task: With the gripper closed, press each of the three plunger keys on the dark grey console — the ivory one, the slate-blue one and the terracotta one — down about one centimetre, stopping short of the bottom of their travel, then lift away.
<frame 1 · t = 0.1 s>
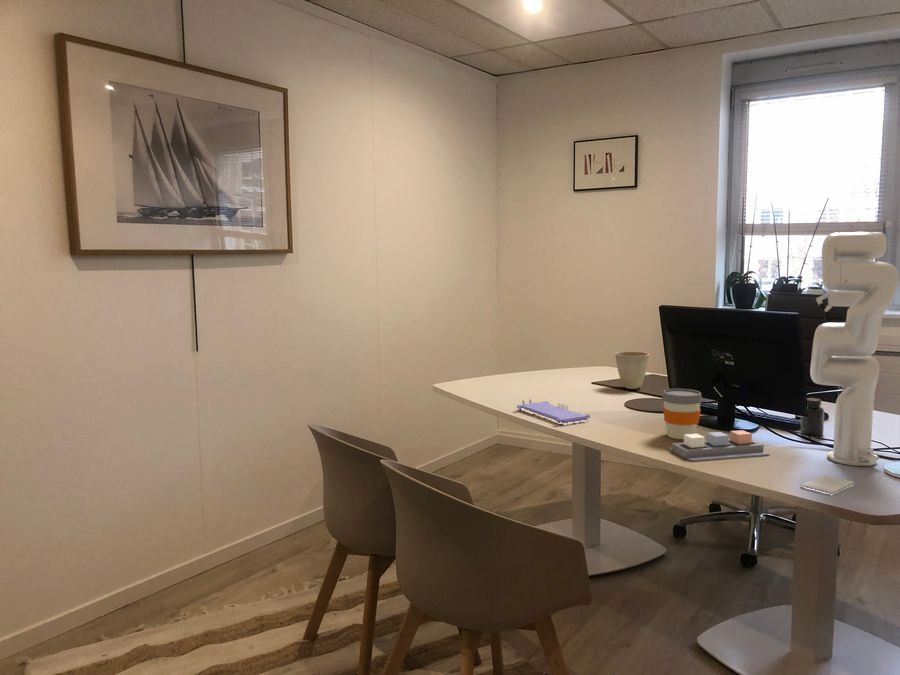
hand: (844, 323, 229), 37 cm above the table, tool pointing down, fingers open, 9 cm apart
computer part: (551, 417, 266), on the table
reusable coffee cup: (680, 436, 234), on the table
ivory key: (694, 440, 213), point 4 cm above the table, slide at 0.0 cm
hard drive: (826, 489, 183), on the table
console: (717, 452, 215), on the table
plant pot: (631, 388, 315), on the table
supplement bottle: (811, 434, 233), on the table
slate key: (717, 438, 214), point 4 cm above the table, slide at 0.0 cm
terracotta key: (740, 437, 216), point 4 cm above the table, slide at 0.0 cm
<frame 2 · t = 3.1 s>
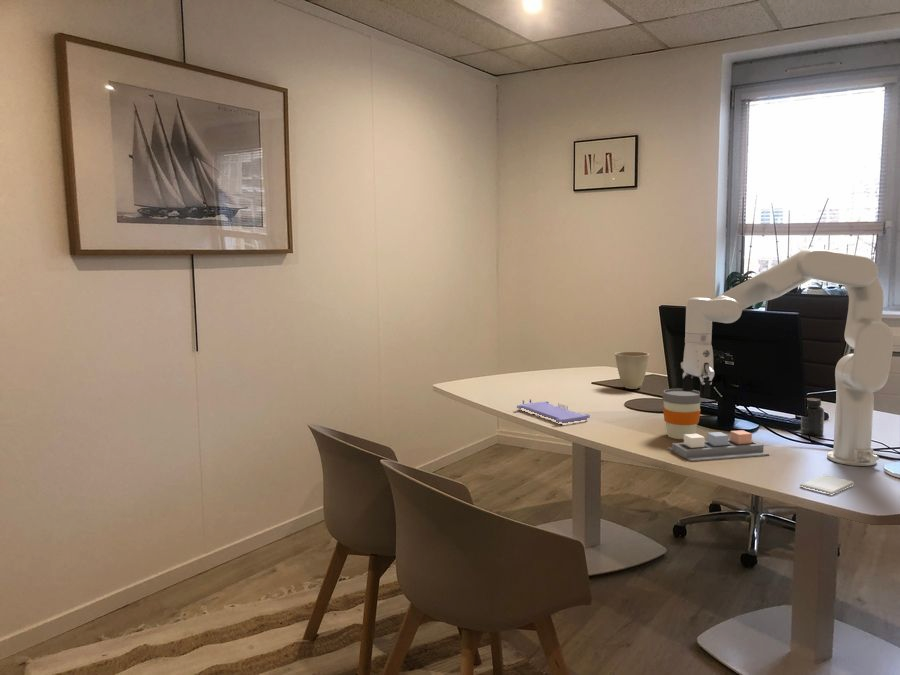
hand: (696, 394, 211), 19 cm above the table, tool pointing down, fingers open, 9 cm apart
nothing on the table moved.
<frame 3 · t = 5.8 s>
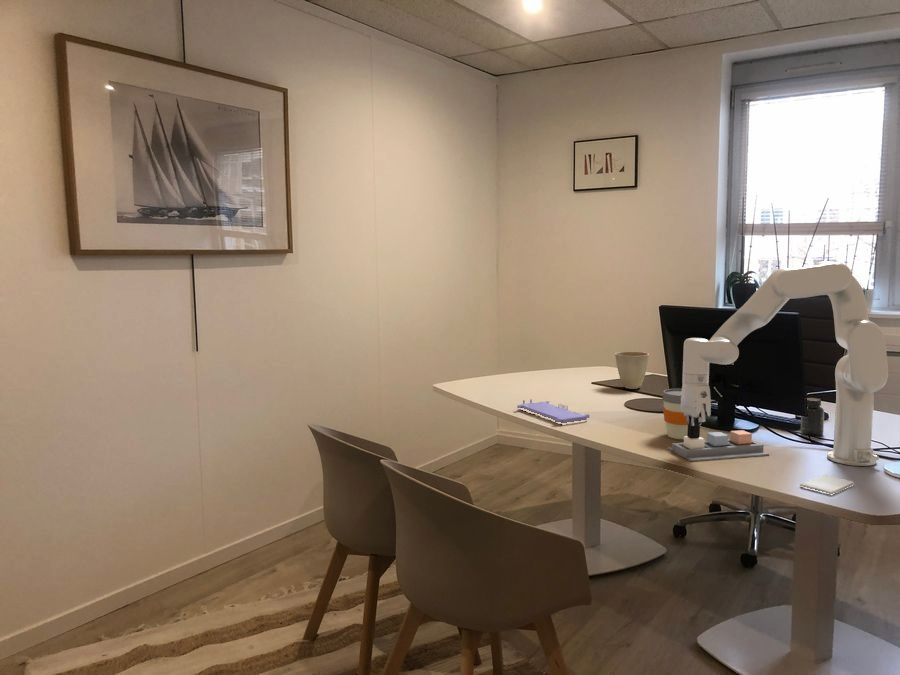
hand: (693, 437, 213), 5 cm above the table, tool pointing down, fingers closed
ivory key: (694, 442, 213), point 4 cm above the table, slide at 0.6 cm, touching gripper
everything else where it was.
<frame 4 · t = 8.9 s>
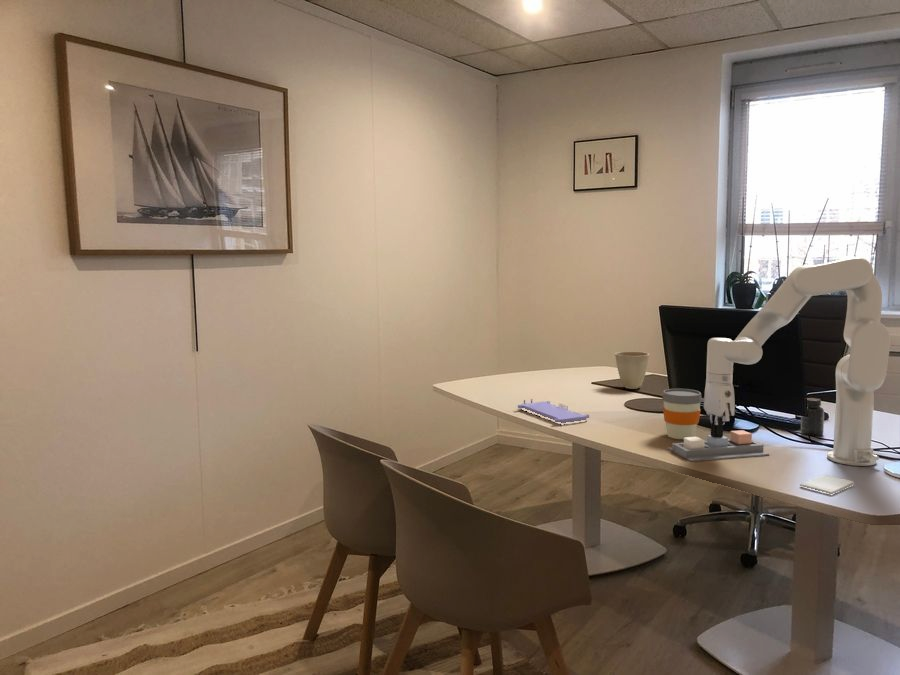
hand: (716, 436, 214), 5 cm above the table, tool pointing down, fingers closed
ivory key: (693, 443, 213), point 3 cm above the table, slide at 1.0 cm
slate key: (717, 441, 214), point 3 cm above the table, slide at 0.8 cm, touching gripper
everything else where it was.
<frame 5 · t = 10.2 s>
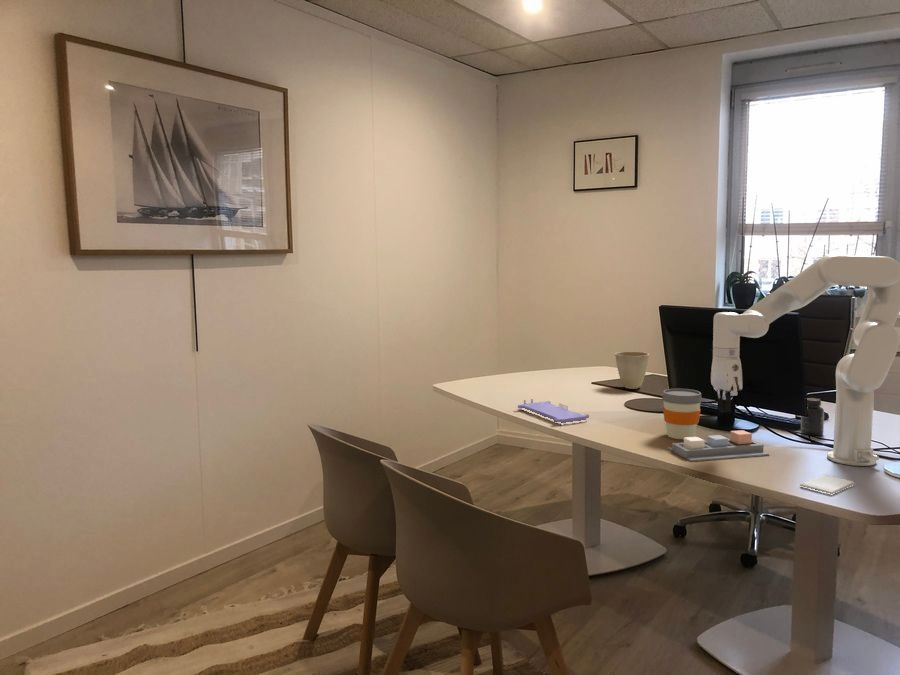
hand: (724, 411, 213), 13 cm above the table, tool pointing down, fingers closed
slate key: (717, 441, 214), point 3 cm above the table, slide at 1.0 cm
everything else where it was.
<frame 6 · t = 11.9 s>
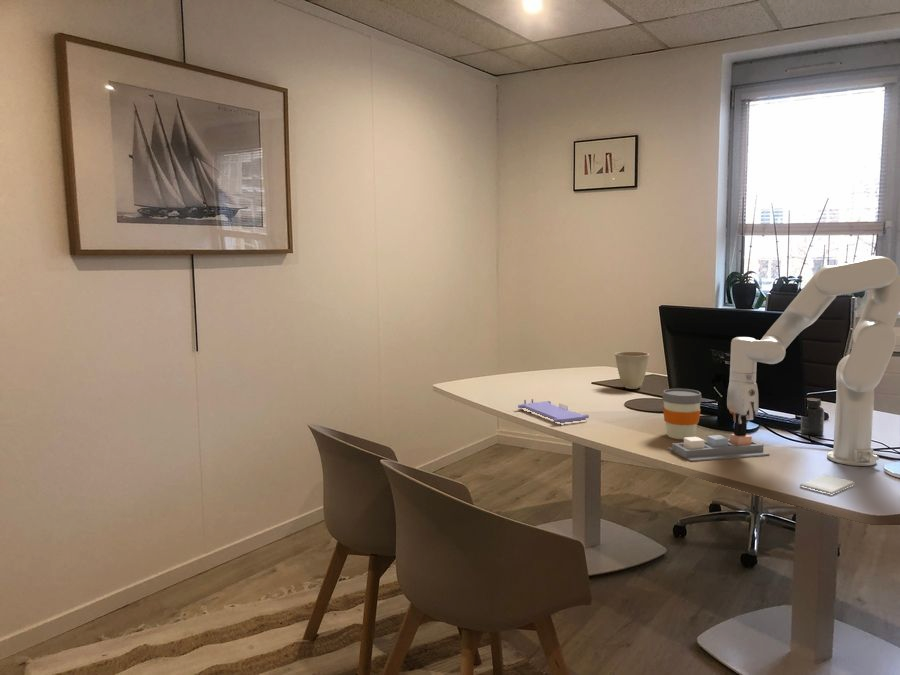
hand: (740, 434, 216), 5 cm above the table, tool pointing down, fingers closed
terracotta key: (740, 439, 216), point 3 cm above the table, slide at 0.9 cm, touching gripper
everything else where it was.
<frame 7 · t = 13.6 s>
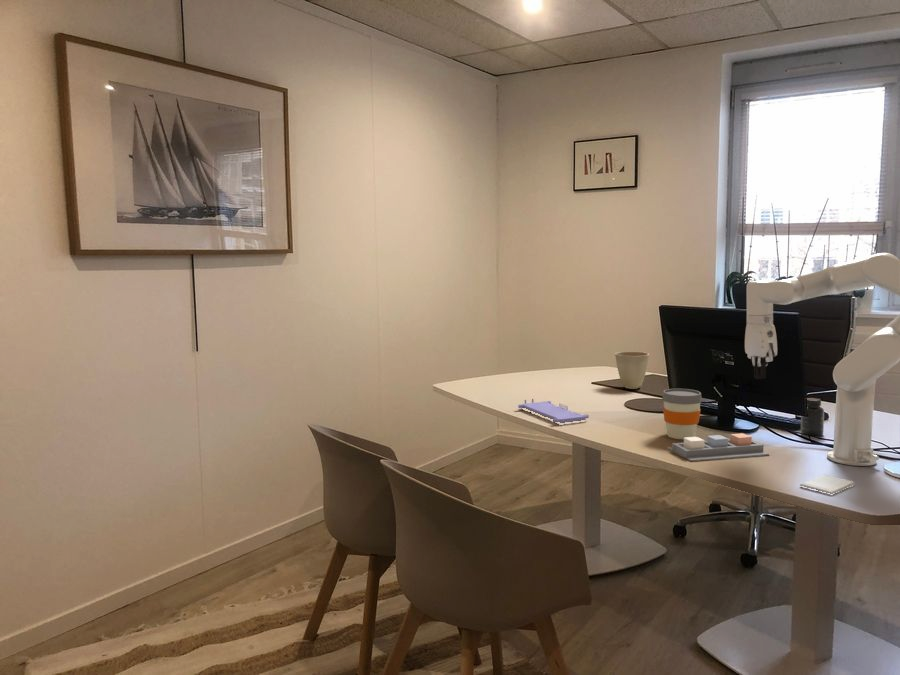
hand: (759, 378, 218), 22 cm above the table, tool pointing down, fingers closed
terracotta key: (740, 440, 216), point 3 cm above the table, slide at 1.0 cm
everything else where it was.
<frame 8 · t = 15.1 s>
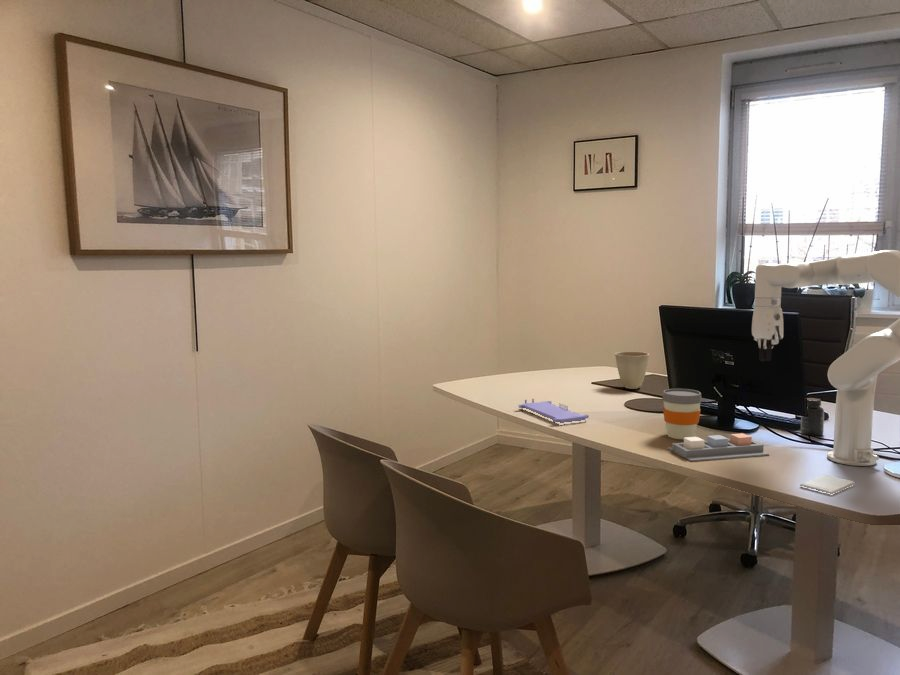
hand: (765, 360, 220), 27 cm above the table, tool pointing down, fingers closed
nothing on the table moved.
at the end: ivory key slide at 1.0 cm; slate key slide at 1.0 cm; terracotta key slide at 1.0 cm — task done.
